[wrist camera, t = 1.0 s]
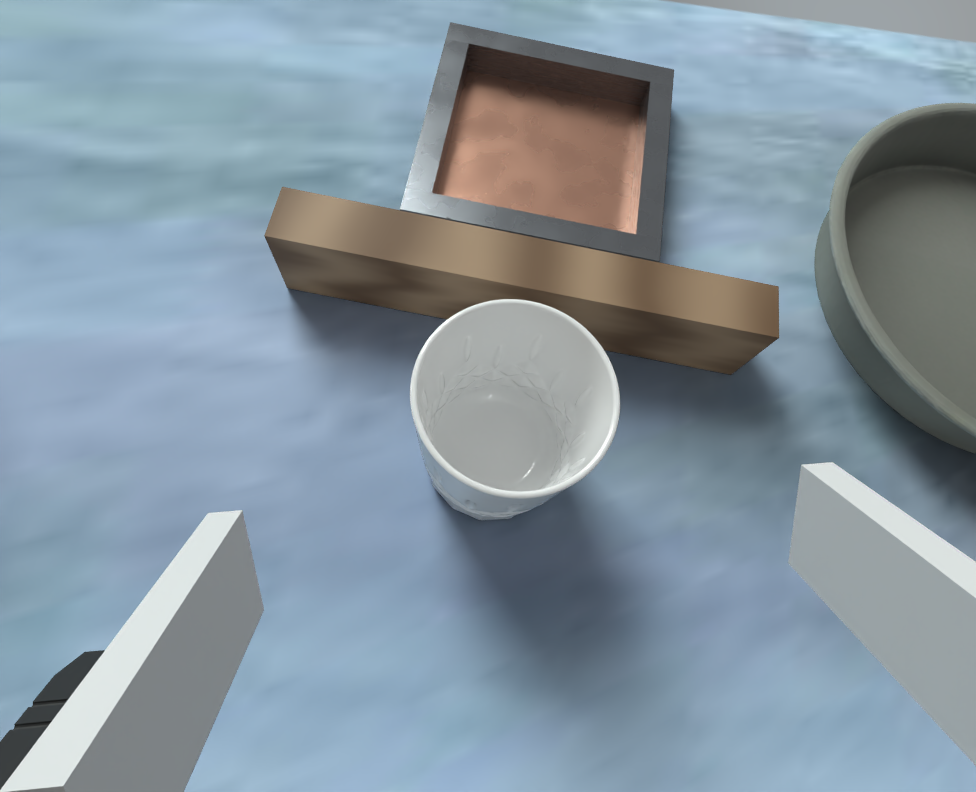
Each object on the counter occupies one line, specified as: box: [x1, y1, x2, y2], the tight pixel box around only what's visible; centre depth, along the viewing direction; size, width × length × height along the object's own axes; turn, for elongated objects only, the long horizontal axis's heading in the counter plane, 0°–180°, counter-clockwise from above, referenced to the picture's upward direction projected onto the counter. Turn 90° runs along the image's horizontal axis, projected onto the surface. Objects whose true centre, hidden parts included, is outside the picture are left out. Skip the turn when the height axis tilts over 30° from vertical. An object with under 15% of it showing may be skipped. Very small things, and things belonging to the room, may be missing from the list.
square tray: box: [400, 22, 674, 262], centre depth 37 cm, size 15×15×2 cm
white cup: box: [410, 299, 620, 520], centre depth 27 cm, size 8×8×10 cm
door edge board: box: [265, 187, 779, 375], centre depth 32 cm, size 26×3×5 cm, turn 81°
